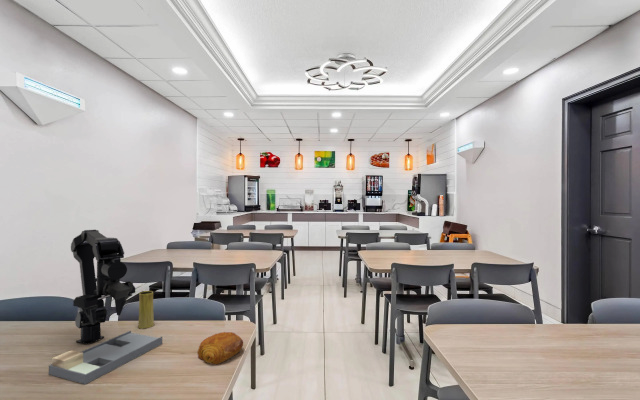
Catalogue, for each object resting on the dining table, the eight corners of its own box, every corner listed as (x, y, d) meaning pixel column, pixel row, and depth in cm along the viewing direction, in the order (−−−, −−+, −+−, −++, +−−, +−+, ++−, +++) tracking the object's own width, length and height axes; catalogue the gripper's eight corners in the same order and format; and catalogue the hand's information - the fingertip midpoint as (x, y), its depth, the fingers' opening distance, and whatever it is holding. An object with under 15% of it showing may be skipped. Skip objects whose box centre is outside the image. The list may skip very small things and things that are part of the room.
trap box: (48, 374, 100) (48, 365, 100) (130, 337, 127) (130, 330, 127) (85, 384, 95) (85, 375, 95) (162, 343, 121) (162, 336, 121)
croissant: (249, 355, 117) (252, 332, 118) (218, 369, 103) (221, 343, 104) (219, 346, 124) (222, 324, 125) (186, 358, 110) (189, 333, 111)
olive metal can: (147, 329, 135) (147, 294, 135) (134, 328, 136) (134, 294, 136) (157, 323, 141) (157, 290, 141) (144, 322, 142) (145, 290, 142)
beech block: (52, 367, 100) (52, 357, 100) (71, 359, 105) (71, 350, 105) (64, 371, 98) (64, 361, 98) (83, 362, 103) (83, 353, 103)
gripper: (97, 283, 101) (96, 333, 101) (146, 271, 119) (146, 313, 119) (72, 280, 105) (72, 328, 105) (124, 268, 123) (124, 310, 123)
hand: (106, 319), depth 113 cm, fingers open, 9 cm apart
